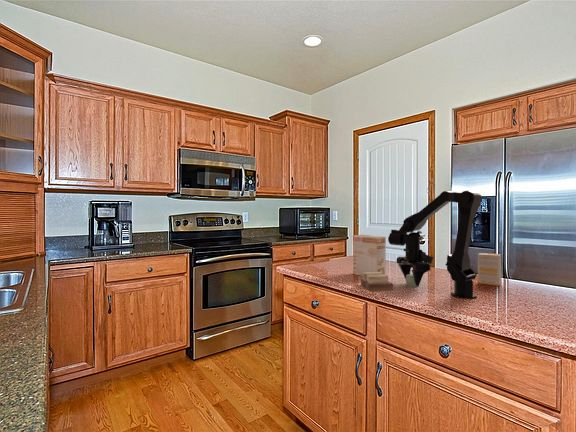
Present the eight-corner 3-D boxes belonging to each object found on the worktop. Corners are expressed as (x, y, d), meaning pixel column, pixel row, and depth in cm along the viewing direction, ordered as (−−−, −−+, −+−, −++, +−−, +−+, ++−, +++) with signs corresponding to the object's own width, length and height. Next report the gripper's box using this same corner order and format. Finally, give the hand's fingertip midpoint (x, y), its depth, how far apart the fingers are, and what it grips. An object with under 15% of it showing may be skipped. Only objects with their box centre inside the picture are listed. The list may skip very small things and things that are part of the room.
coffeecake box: (386, 277, 159) (386, 236, 158) (376, 279, 155) (376, 237, 154) (362, 272, 171) (362, 234, 171) (352, 274, 167) (352, 235, 167)
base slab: (392, 291, 136) (392, 283, 136) (369, 292, 135) (369, 284, 135) (383, 285, 146) (383, 278, 146) (360, 286, 145) (360, 279, 145)
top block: (388, 283, 137) (388, 276, 137) (369, 283, 137) (369, 276, 136) (380, 278, 145) (380, 272, 145) (362, 279, 145) (362, 272, 144)
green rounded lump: (420, 287, 140) (421, 276, 140) (409, 287, 140) (409, 276, 140) (415, 284, 145) (415, 274, 145) (404, 284, 145) (404, 274, 145)
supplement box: (501, 284, 144) (502, 254, 143) (499, 286, 140) (499, 255, 140) (480, 281, 149) (480, 252, 149) (477, 283, 146) (477, 253, 145)
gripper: (443, 249, 134) (442, 288, 134) (419, 243, 152) (419, 278, 153) (416, 250, 132) (416, 289, 133) (396, 244, 151) (395, 278, 151)
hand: (412, 283), depth 143 cm, fingers open, 8 cm apart
